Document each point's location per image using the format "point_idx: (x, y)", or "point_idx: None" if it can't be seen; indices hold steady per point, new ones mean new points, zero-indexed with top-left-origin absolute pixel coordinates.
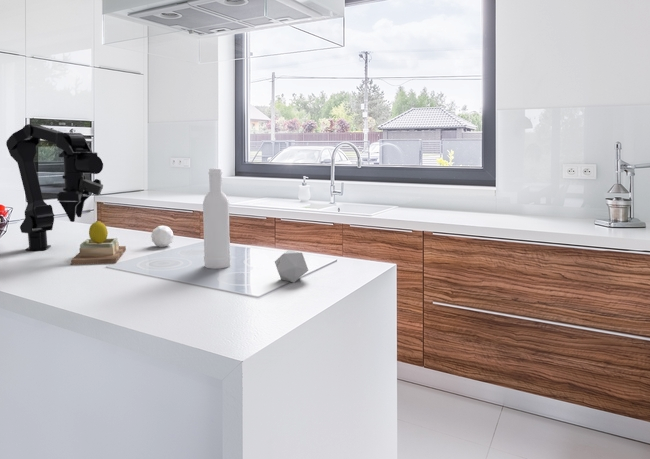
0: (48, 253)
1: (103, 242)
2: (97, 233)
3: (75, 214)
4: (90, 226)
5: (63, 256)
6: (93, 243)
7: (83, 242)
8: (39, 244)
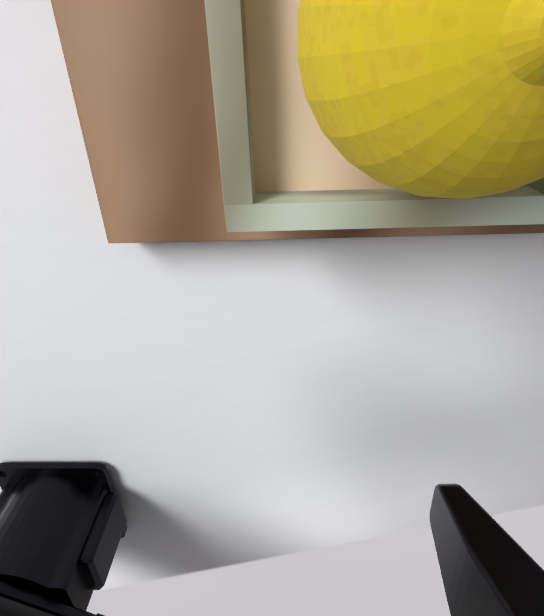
0: (191, 429)
1: (243, 16)
2: None
3: (511, 601)
4: (523, 184)
5: (295, 334)
6: (286, 137)
7: (438, 218)
8: (100, 513)
